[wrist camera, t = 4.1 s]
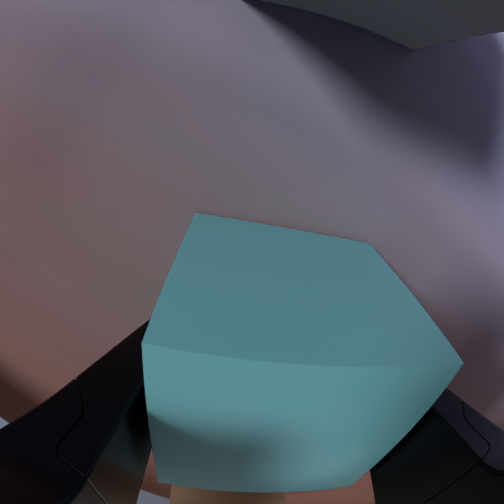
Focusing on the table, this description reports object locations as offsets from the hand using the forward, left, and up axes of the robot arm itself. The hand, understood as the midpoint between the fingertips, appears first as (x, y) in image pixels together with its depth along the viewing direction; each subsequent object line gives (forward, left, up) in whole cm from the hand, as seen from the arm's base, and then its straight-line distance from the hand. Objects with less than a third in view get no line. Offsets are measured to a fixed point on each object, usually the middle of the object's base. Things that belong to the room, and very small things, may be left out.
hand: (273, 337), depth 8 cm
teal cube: (0, 0, -2) cm, 2 cm away
